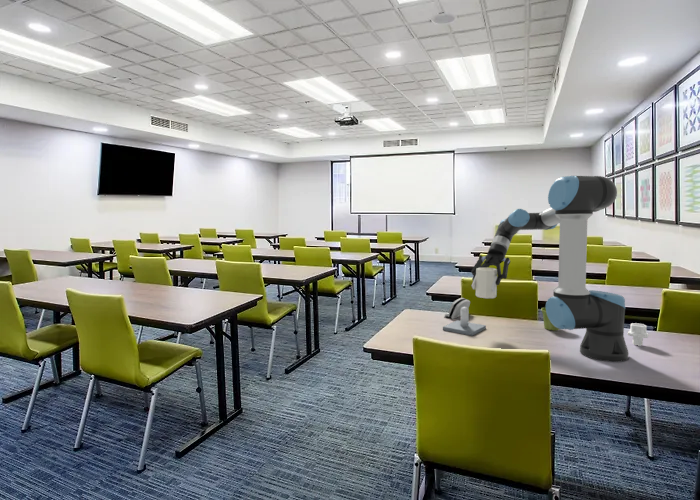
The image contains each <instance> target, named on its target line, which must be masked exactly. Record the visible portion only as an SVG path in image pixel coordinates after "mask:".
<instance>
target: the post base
mask: <svg viewBox="0 0 700 500" xmlns="http://www.w3.org/2000/svg"><path fill="white" fill-rule="evenodd" d="M469 311H470V310H469V308H467V307H462V308H461V316H460V320H458V319H457V320H455V321H453V322H450V323H449V324H446V325H444V326H442V330H443V331H446V332H452V333H456V334H461V335H467V336H471V337H472V336H475V335H477V334H478V333H481V332H482V331H484V330H486V329H487V325H486V324H481V323H475V322H469V315H470V313H469Z"/></svg>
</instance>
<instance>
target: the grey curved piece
mask: <svg viewBox="0 0 700 500" xmlns="http://www.w3.org/2000/svg"><path fill="white" fill-rule="evenodd" d="M470 304H471V301H470V300H469V299H466V298H464V297H460V298H458V299H456V300H454V301H453V302H452V303H451V304H450V307H449V308H448V311H447V313H449V314H447V313H445V314H444V316H443V318H447V317H448V318H450V319H452V320H455V319H457V318H458V317H461V308H462V307H467V308H468V309H469V307H470Z"/></svg>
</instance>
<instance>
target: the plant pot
mask: <svg viewBox="0 0 700 500" xmlns="http://www.w3.org/2000/svg"><path fill="white" fill-rule="evenodd" d="M540 311H541V312H542V317H543V327H544V329H545V330H548V331H549V330H550V331H553V332H554V331H559V330H560V329H558V328H556V327H555V326H554V325H553V324H552V323H551V322H550V320H549V318H548V316H547V313H546V307H541V309H540Z"/></svg>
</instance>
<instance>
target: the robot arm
mask: <svg viewBox="0 0 700 500" xmlns="http://www.w3.org/2000/svg"><path fill="white" fill-rule="evenodd" d="M617 196H618V189H617V186H616V184H615V183H614V181H613V180H611V179H609V178H608V177H606V176H601V175H594V176H593V175H567V176H561V177H559V178H557V179H555V181H554V182H553V183H552V184H551V186H550V188H549V190H548V195H547V201H548V202H547V203H548V204H549V208H547V209H544V211H541V212H528V211H527V210H525V209H522V208H516V209H515V210H514V211H512V212H511V213H510V214H509V215H508V217H507V218H504V219H501V221H500V222H499V224H498V225H497V229H496V231H495V235H494V237H493V238H492V239H493V240H492V241H491V244H490V246H489V248H488V251H487V254H486V255H484V256H482V255H480V254H479V257H478V260H477V261H476V263H475V264H474V265H473V267H472V269H471V271H470V272H471V274H472V276H473V277H472V279H471V280H472V284H471V285H470V286H471V288H472V290H476V268H490V266H495V267H496V269H497V276H495V279H494V281H493V284H492V286H491V290H492V292H494V291H495V289H496V286H499V285H500V283H501V280H503V279H504V280H506V279H507V278H508V272H509V265H510V263H511V260H510V257H508V256H507V257H506V255H507V252H508V250H509V247H510V245H511V242H512V240H513V237H514V236H515V235H516V234H517V233H518V232H519V231H526V230H527V231H531V230H532V231H535V230H536V231H537V230H540V231H541V230H542V231H543V230H544V231H549V230H553V229H555V228H556V227H557V226H558V225H559V239H558V240H559V242H558V243H559V246H558V250H559V251H558V278H557V279H558V284H557V287H556V288H555V289H553V294H552V295H553V296H551V297H548V299H547V300H546V302H545V308H546V313H547V316H548V318H549V320H550V322H551V323H552V324H553V325H554V326H555V327H556V328H558V329H559V330H569V331H571V330H572V331H573V330H581V329H585V334H584V336H583V338H582V340H581V342H580V347H579V352H580V354H582V355H583V356H585V357H588V358H591V359H593V360H598V361H604V362H611V363H612V362H613V363H614V362H625V361H628V359H629V349H628V347H627V344H626V341H625V340H626V339H625V337H624V333H625V332H624V331H625V318H626V317H625V316H626V315H625V314H626V298H625V297H624V296H622V295H620V294H617V293H613V292H608V291H601V290H589V289H587V286H586V285H587V282H586V281H587V279H586V278H587V252H588V251H587V250H588V249H587V248H588V247H587V246H588V220H589V219H590V218H591V217H592V216H593V215H594V214H593V213H596V212H599V211H602V210H604V209H606V208H607V209H608V207H610V206H611V205H612V204H613V203H614V202H615V201H616V199H617ZM501 263H503V267H502V270H501Z"/></svg>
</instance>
